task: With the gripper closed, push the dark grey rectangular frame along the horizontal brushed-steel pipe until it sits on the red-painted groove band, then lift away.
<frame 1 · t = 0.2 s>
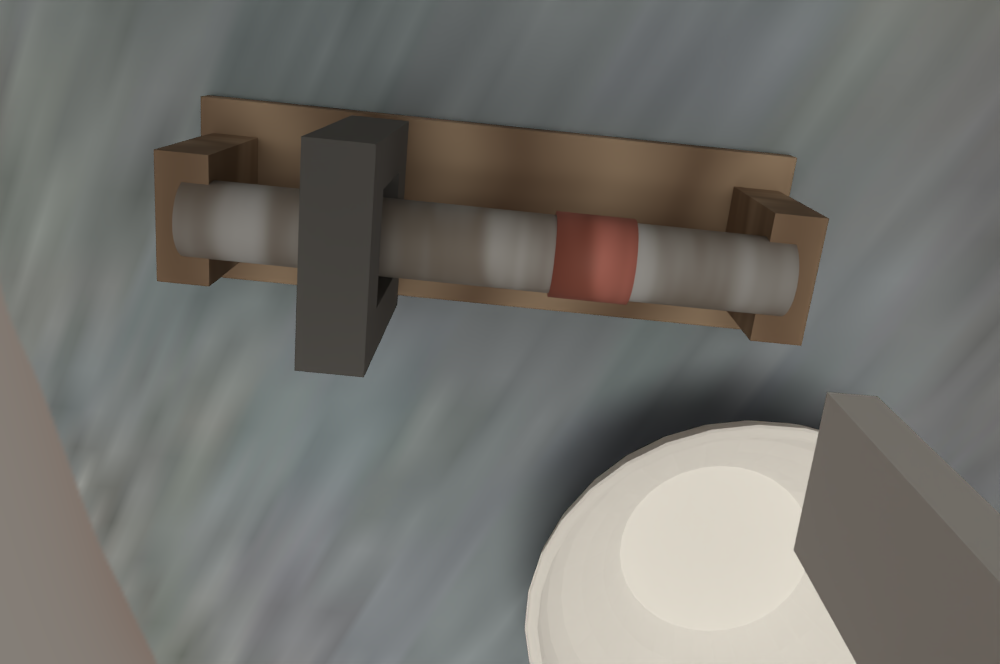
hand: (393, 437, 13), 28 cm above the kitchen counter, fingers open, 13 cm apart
bowl: (710, 541, 45), on the kitchen counter
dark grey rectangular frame: (357, 234, 33), point 7 cm above the kitchen counter, slide at -5.0 cm
pipe stand: (492, 214, 40), on the kitchen counter
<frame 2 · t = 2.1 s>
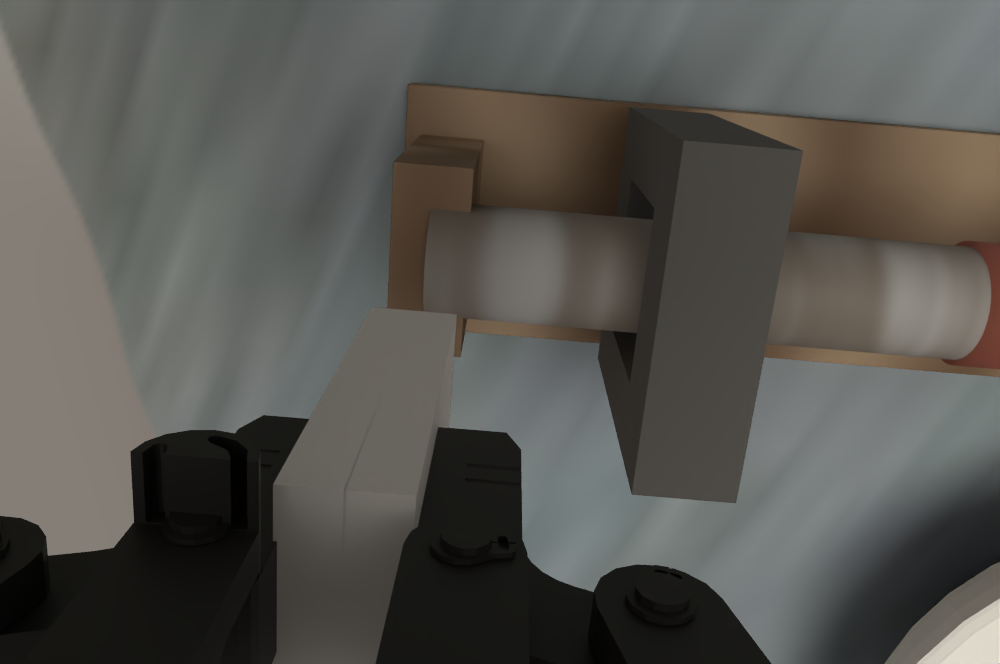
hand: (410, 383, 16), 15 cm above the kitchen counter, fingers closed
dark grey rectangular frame: (676, 279, 23), point 7 cm above the kitchen counter, slide at -5.0 cm
pipe stand: (787, 237, 30), on the kitchen counter
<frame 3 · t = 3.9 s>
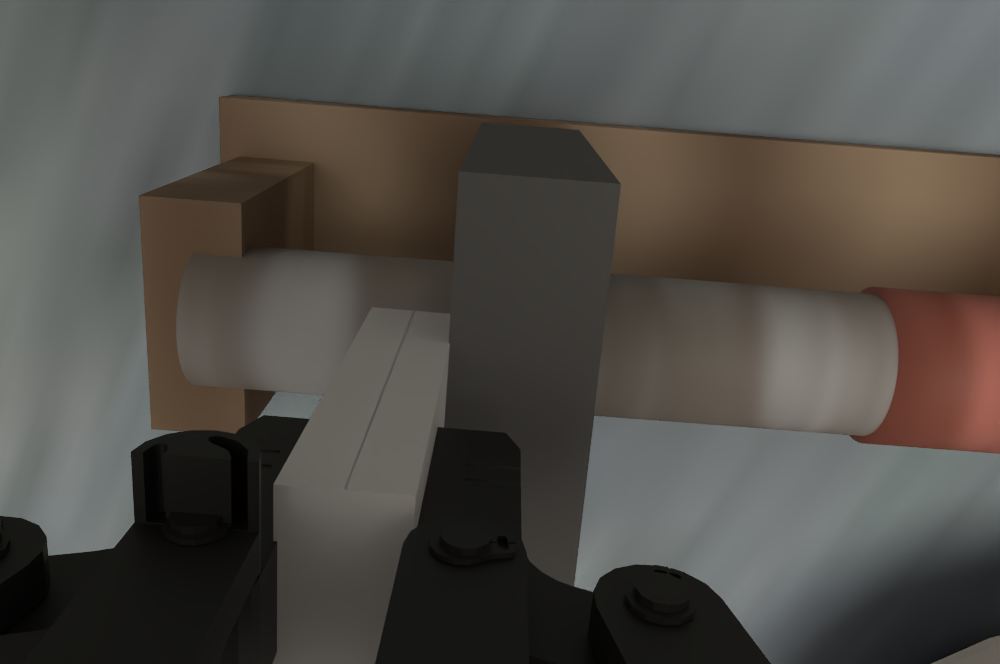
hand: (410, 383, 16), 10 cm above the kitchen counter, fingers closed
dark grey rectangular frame: (517, 338, 18), point 7 cm above the kitchen counter, slide at -4.9 cm, touching gripper
pipe stand: (686, 274, 25), on the kitchen counter
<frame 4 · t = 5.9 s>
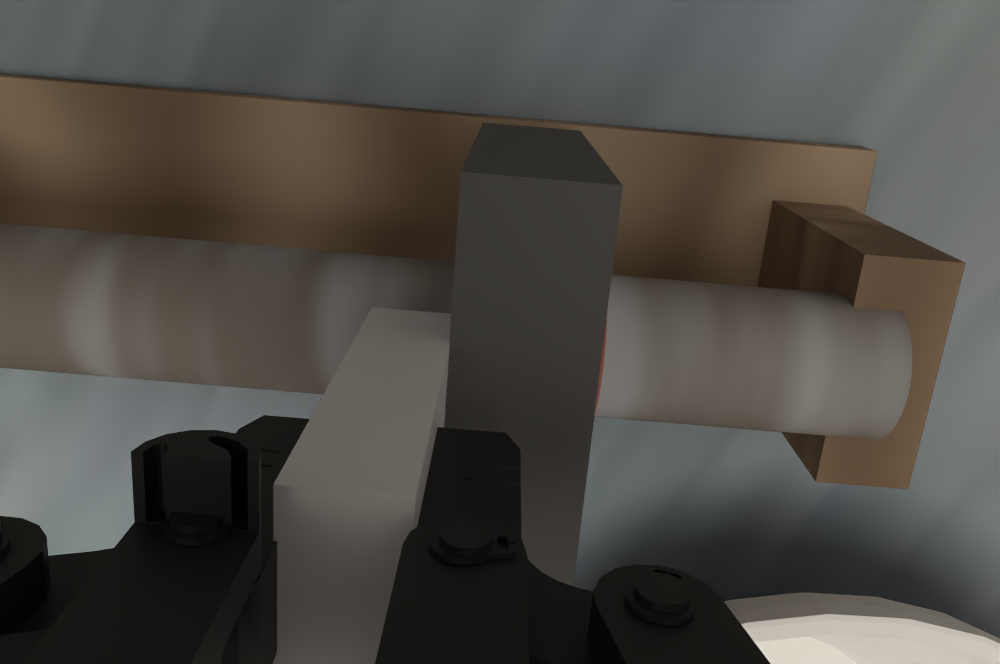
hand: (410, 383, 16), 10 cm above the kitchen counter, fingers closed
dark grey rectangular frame: (517, 338, 18), point 7 cm above the kitchen counter, slide at 3.9 cm, touching gripper
pipe stand: (383, 250, 25), on the kitchen counter
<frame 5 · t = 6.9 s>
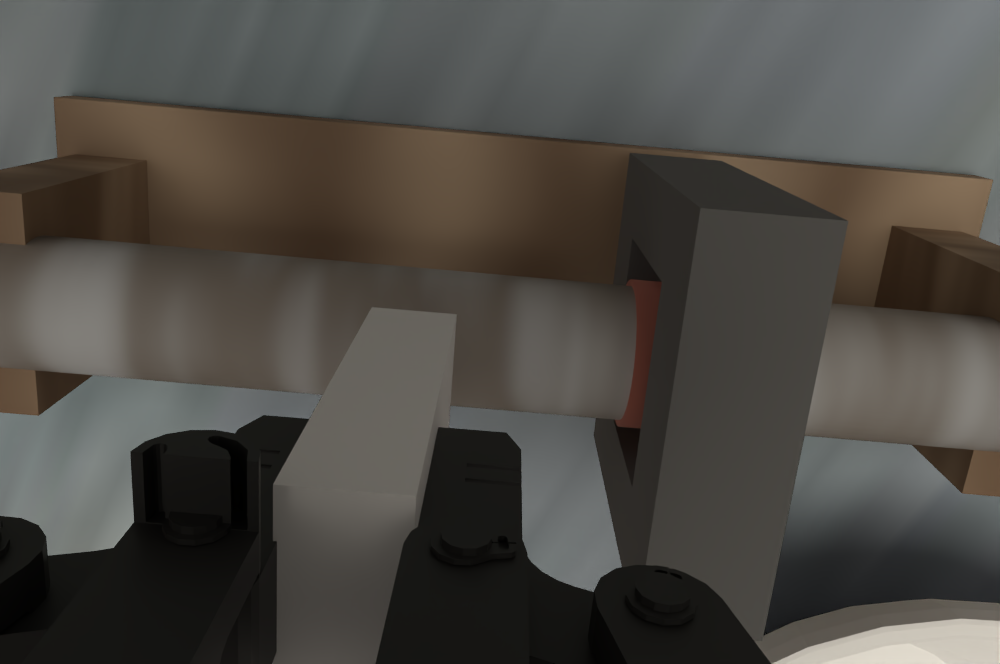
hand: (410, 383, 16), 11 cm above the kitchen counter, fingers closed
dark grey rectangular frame: (685, 358, 20), point 7 cm above the kitchen counter, slide at 3.9 cm
pipe stand: (513, 271, 26), on the kitchen counter
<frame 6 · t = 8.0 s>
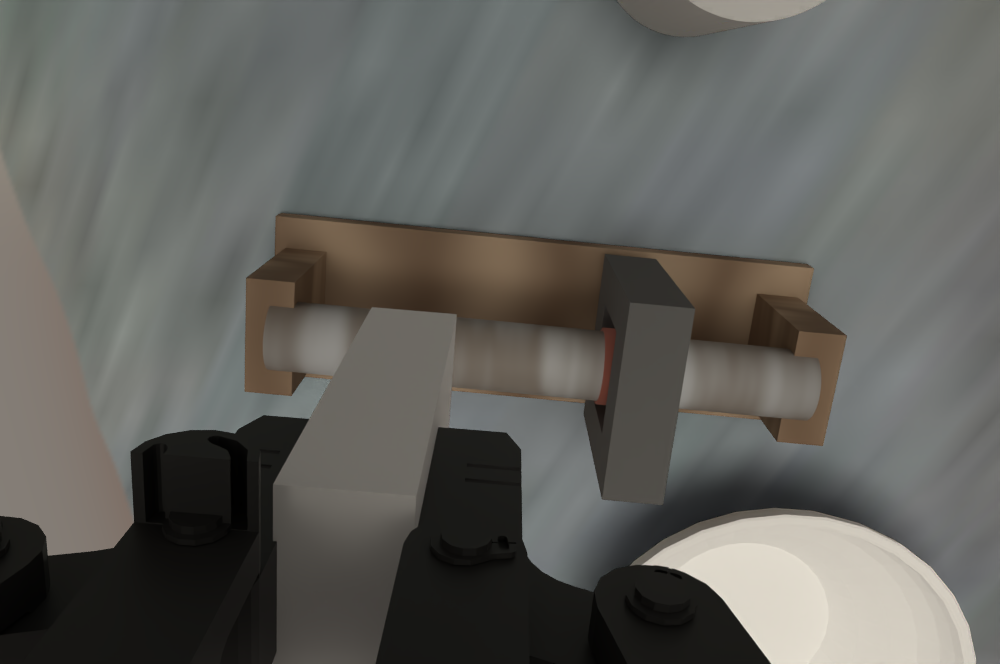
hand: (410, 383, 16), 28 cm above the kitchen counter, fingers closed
bowl: (736, 610, 49), on the kitchen counter
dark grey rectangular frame: (631, 368, 37), point 7 cm above the kitchen counter, slide at 3.9 cm
pipe stand: (536, 316, 44), on the kitchen counter
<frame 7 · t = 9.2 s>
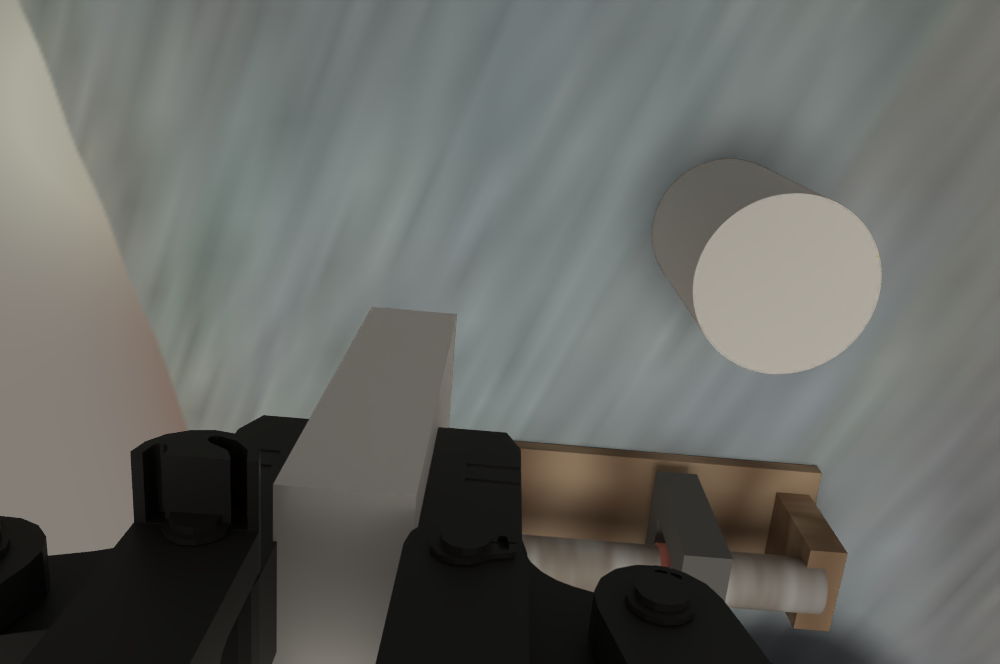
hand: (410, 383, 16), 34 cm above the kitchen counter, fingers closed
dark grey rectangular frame: (680, 575, 48), point 7 cm above the kitchen counter, slide at 3.9 cm
pipe stand: (598, 506, 55), on the kitchen counter
light grey cylinder: (723, 230, 50), on the kitchen counter
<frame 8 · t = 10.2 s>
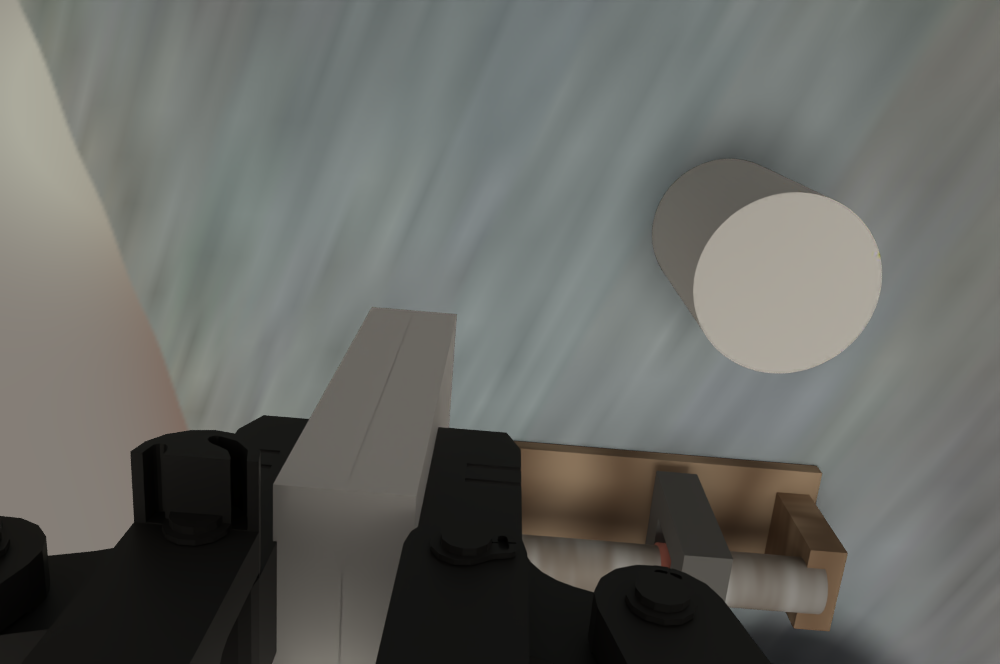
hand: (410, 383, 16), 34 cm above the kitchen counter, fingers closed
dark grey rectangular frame: (680, 574, 48), point 7 cm above the kitchen counter, slide at 3.9 cm
pipe stand: (599, 506, 55), on the kitchen counter
light grey cylinder: (723, 230, 50), on the kitchen counter
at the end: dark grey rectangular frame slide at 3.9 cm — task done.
